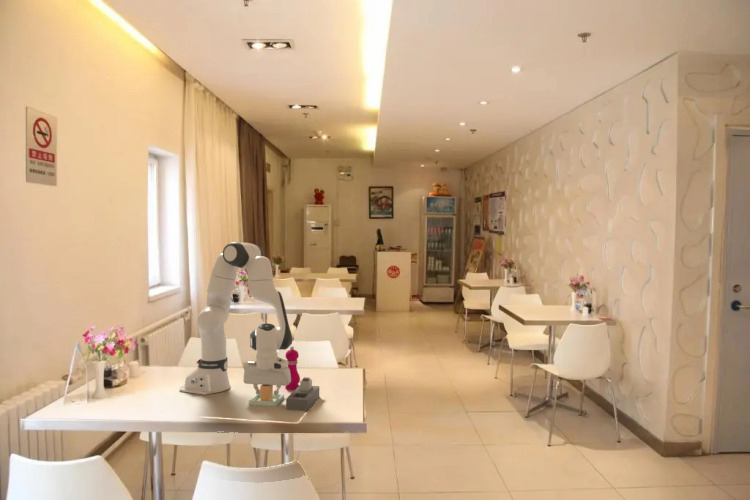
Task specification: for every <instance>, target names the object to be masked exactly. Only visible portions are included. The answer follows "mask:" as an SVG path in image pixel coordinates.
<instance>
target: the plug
mask: <svg viewBox="0 0 750 500" xmlns="http://www.w3.org/2000/svg"><path fill="white" fill-rule="evenodd" d="M273 388H274V385H262V384H260V387H259V389H260V401H272V400H273V394H274V389H273Z"/></svg>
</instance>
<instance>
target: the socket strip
mask: <svg viewBox="0 0 750 500" xmlns="http://www.w3.org/2000/svg"><path fill="white" fill-rule="evenodd" d="M319 399H320V386H319V385H312V390H311V391H300V384H299V386H298V387H297V388H296V389H295V390H292V392H291V393H290V394H289V395H288V396H287V397H286V398H285V402H286V403H285V410H288V411H289V410H290V411H304V412H305V413H308V412H309V411H310V410H311V409H312V407H313V406H314V405H315V404H316V402H317V401H318V400H319Z"/></svg>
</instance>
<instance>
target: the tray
mask: <svg viewBox="0 0 750 500" xmlns="http://www.w3.org/2000/svg"><path fill="white" fill-rule="evenodd" d="M284 399H285V394H284V393H283V394H282V393H279V394H278V395H274V393H273V400H272V401H260V394H256V393H255V394H254V395H253V397H251V398H250V399H249V400H248V405H249V406H250V405H251V406H268V407H269V406H270V407H277V406H278V405H279V404H280V403H281V402H282V401H283V400H284Z"/></svg>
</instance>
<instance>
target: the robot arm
mask: <svg viewBox="0 0 750 500" xmlns="http://www.w3.org/2000/svg"><path fill="white" fill-rule="evenodd" d="M212 266H213V267H212V270H211V273H210V276H209V277H210V278H209V280H208V281H209V282H208V286H207V291H206V292H207V295H206V303H205V304H206V305H205V307H204V308H203V309H202V310H201V311H200V312H199V313H198V316H197V318H196V319H197V322H196V323H197V326H198V331H199V336H200V343H201V345H200V346H201V347H200V348H201V349H200V350H201V358H200V359H198V360H197V361H196V365H197V367H195V369H193V370H192V371H191V372H190V373H188V374H187V375H186V377H185V380H184V384H182V385H181V386H180V387H179V391H180V392H183V393H190V394H196V395H205V396H206V395H210V394H215V393H221V392H225V391H227V390H229V389H231V384H230V380H229V375H228V368H229V367H228V366H229V365H228V362H229V359H228V357H227V339H226V334H225V333H226V332H225V328H224V327H225V326H224V325H225V323H226V322H227V321H228V319H229V314H230V309H231V302H232V294H233V290H234V287H235V286H234V285H235V283H236V278H237V274H238V273H237V272H238V270H239V269H241V268H244V269H245V270H246V273H247V287H248V293H249V294H250V296H251V297H252V298H253V299H255V300H257V301H259V302H262V303H266V304H268V305H270V306H272V307H273V308H274V309H275V313H276V318H277V322H278V326H277V327H276V326H275V325H274V324H272V323H261V324H259V325H257V328H256V329H254V330H252V332H251V333H250V334H249V347H250V348H251V349H252V350H254V351H256V355H255V356H256V357H255V361H247V362H245V363H244V365H243V371H244V372H243V383H244V384H247V385H253V388H254V390H255V395H256V394H260V387H258V386H259V385H273V386H276V389H275V390H273V394H274V395H278V394H280V393H279V392H280V389H281V387H282V386H287V385H288V384H289V383H290V382H291V374H290V369H289V367H288V361H287V359H284V358H282V357H279V356H278V352H277V350H278V351H279V350H280V351H281V350H283V351H285V350H288V349H289V348H290V347H291V346H292V343H293V334H292V332H291V327H290V325H289V324H290V323H289V320H288V315H287V311H286V306H285V303H284V299H283V295H282V293H281V292H280V291H278V290H277V289H276V287H275V284H274V275H273V268H272V264H271V259H269V258H268V257H266V256H265V252H264V249H263V248H262V247H261V246H259V245H258V244H255V243H250V242H238V241H233V242H229V243H228V244H226V245H225V246H224V247H223V250H222V253H220V254H218V255H217V257H216V258H215V262H214V264H213V265H212Z"/></svg>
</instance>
